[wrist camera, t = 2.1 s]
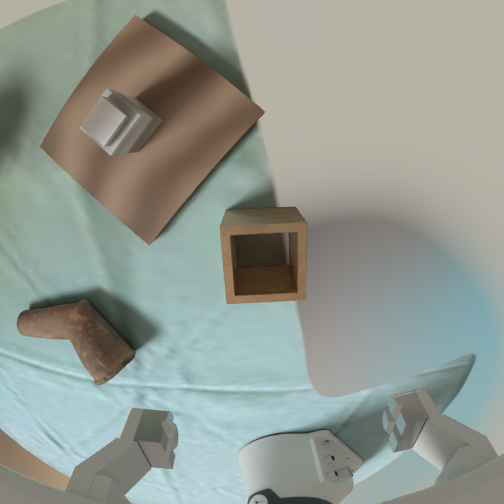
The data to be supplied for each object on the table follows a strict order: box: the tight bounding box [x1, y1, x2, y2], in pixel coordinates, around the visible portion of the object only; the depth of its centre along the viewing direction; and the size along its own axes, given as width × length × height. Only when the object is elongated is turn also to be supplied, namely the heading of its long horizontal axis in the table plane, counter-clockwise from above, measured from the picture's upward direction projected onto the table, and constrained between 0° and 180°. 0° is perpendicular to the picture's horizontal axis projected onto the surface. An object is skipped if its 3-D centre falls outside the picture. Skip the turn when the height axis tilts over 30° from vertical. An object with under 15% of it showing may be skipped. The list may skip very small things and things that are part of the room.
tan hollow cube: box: [220, 207, 307, 304], centre depth 27 cm, size 6×6×6 cm
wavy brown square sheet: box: [40, 15, 264, 245], centre depth 22 cm, size 16×16×8 cm
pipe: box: [17, 299, 136, 385], centre depth 32 cm, size 6×17×10 cm
